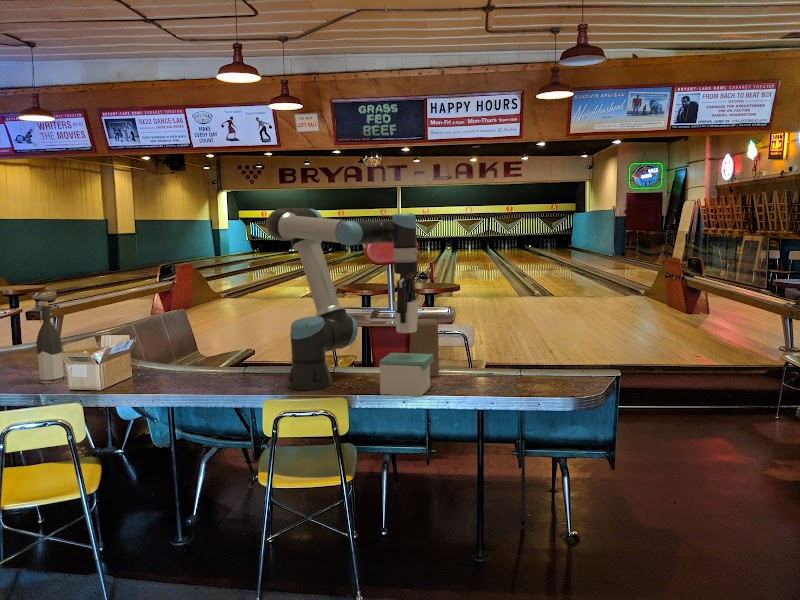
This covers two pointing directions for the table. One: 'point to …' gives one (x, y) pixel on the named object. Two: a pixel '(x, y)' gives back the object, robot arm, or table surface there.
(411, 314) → the white cup
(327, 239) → the robot arm
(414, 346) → the block
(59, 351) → the wine bottle
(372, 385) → the table surface
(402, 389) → the box
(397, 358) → the lid
